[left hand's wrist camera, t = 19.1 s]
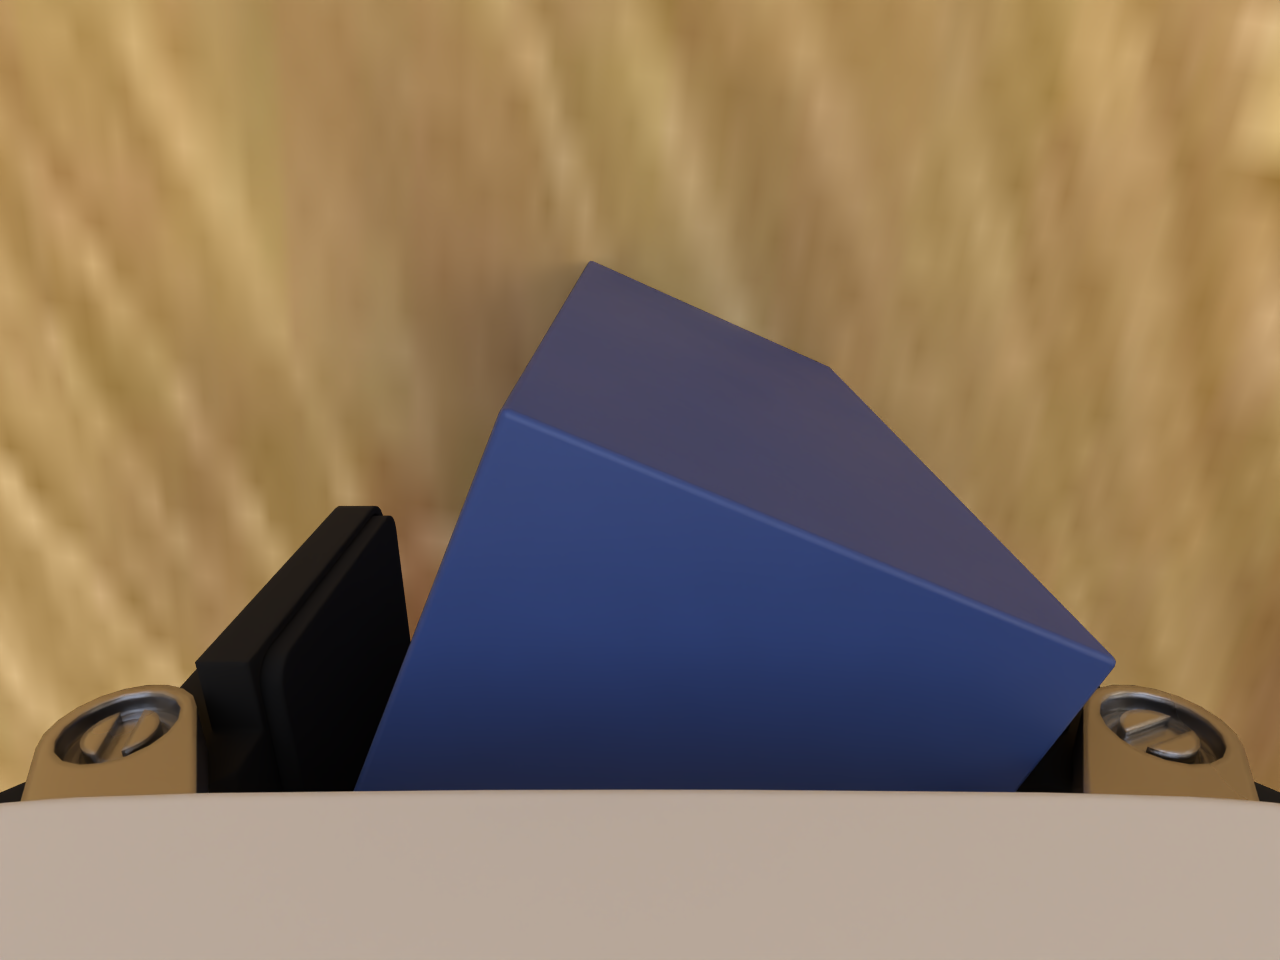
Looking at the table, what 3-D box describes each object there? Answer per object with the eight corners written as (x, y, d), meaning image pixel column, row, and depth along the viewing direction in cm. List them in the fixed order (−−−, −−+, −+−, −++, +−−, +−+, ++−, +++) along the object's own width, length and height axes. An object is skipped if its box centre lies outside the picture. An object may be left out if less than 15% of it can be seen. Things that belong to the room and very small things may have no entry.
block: (831, 367, 16) (1123, 662, 6) (677, 654, 18) (717, 1174, 9) (589, 259, 15) (501, 408, 5) (463, 574, 17) (252, 1049, 8)
